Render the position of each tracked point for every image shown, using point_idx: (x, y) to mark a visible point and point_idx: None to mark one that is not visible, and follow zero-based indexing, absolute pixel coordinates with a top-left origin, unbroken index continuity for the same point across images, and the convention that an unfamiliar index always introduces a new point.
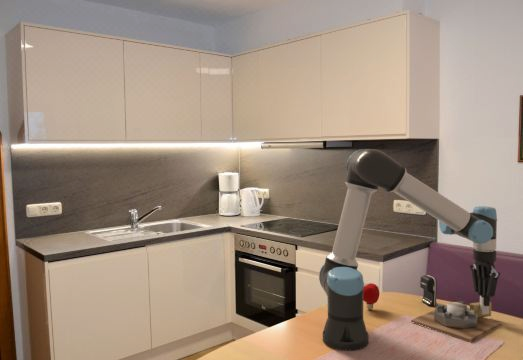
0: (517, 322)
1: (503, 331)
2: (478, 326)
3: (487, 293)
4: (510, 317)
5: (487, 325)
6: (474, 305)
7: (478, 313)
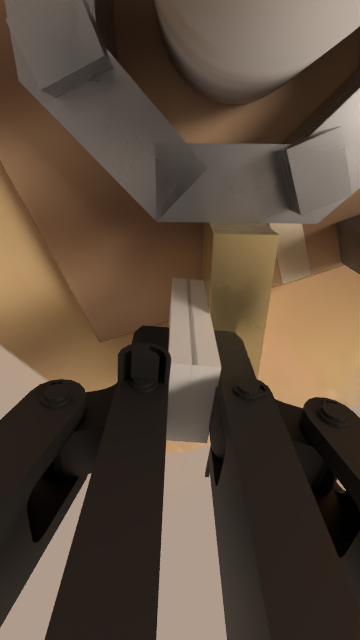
0: None
1: (14, 273)
2: None
3: (42, 418)
4: (180, 443)
5: (74, 219)
6: (211, 241)
7: (203, 268)
